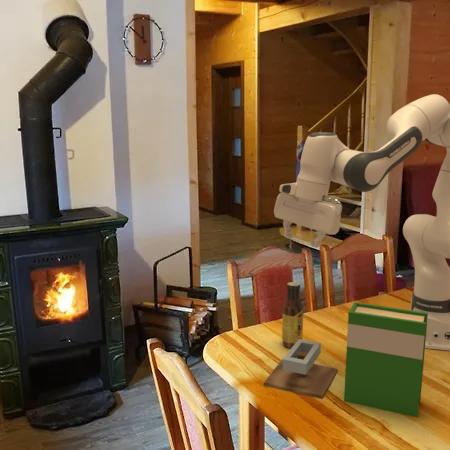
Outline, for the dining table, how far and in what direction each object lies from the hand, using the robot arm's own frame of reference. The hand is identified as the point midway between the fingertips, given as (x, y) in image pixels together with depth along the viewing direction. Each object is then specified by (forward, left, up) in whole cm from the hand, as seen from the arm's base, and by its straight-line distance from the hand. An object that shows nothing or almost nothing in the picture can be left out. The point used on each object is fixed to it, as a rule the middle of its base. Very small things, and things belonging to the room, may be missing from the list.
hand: (300, 242), depth 148 cm
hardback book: (-25, +9, -37) cm, 46 cm away
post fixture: (-3, +6, -37) cm, 37 cm away
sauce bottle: (+6, -13, -37) cm, 39 cm away
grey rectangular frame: (-3, +6, -32) cm, 32 cm away
